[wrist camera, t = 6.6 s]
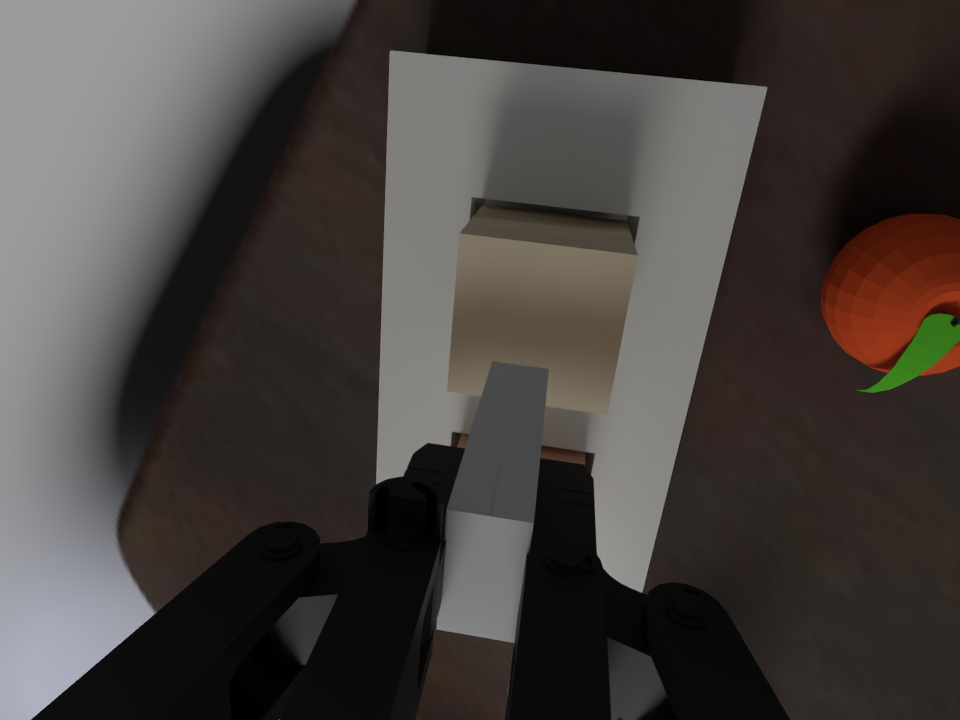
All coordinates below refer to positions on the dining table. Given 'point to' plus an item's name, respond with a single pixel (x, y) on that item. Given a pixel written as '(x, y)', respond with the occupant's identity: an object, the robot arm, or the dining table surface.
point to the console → (570, 190)
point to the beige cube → (542, 301)
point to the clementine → (898, 297)
